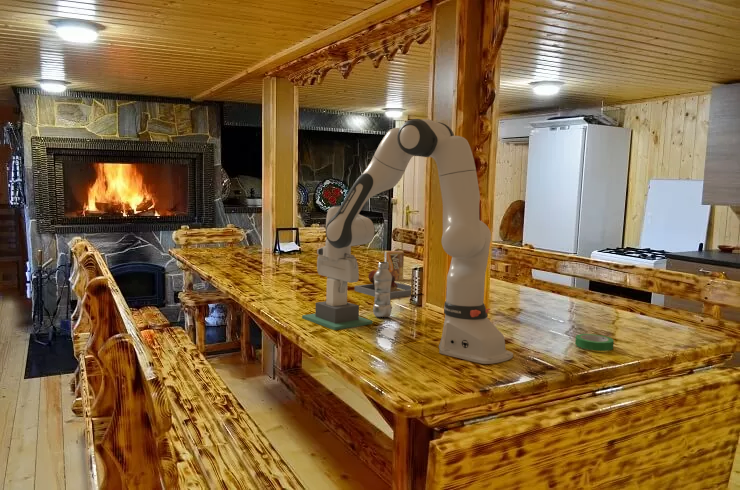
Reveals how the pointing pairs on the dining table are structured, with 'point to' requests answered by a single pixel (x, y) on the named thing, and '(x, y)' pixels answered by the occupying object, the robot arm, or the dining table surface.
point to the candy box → (395, 263)
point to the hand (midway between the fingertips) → (337, 291)
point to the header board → (339, 325)
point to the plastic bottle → (382, 291)
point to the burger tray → (406, 292)
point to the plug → (335, 293)
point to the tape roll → (594, 342)
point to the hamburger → (393, 285)
